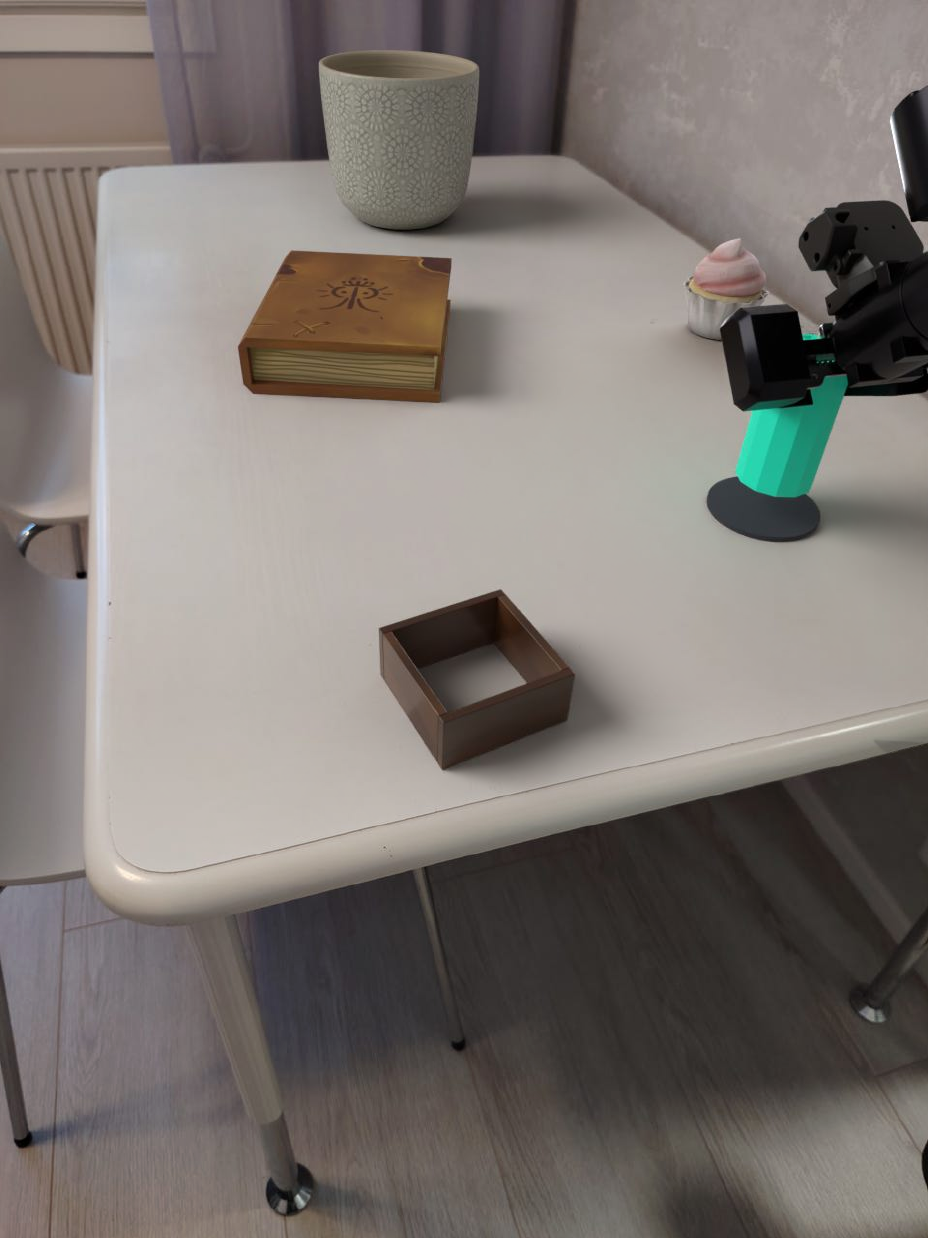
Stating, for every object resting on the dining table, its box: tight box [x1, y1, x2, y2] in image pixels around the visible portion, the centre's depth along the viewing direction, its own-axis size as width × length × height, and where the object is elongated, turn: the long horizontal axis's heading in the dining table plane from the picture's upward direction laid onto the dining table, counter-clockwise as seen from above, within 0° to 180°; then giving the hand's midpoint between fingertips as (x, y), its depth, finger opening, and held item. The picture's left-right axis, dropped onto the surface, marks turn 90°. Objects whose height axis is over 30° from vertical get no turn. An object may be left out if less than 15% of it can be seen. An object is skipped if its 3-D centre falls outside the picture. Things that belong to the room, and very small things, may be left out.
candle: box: [734, 332, 848, 497], centre depth 65 cm, size 6×6×12 cm
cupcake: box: [683, 237, 771, 341], centre depth 95 cm, size 9×9×10 cm
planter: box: [318, 49, 480, 231], centre depth 118 cm, size 21×21×19 cm
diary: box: [237, 249, 453, 403], centre depth 89 cm, size 23×19×6 cm
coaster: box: [706, 475, 821, 542], centre depth 71 cm, size 9×9×1 cm
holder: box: [378, 588, 576, 770], centre depth 52 cm, size 9×9×4 cm
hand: (788, 392), depth 65 cm, fingers closed on candle, 5 cm apart
